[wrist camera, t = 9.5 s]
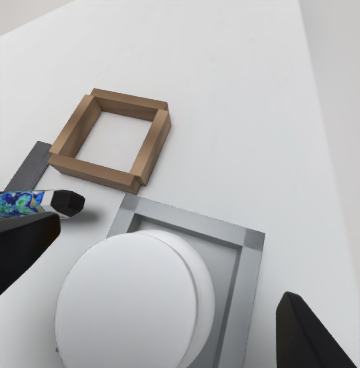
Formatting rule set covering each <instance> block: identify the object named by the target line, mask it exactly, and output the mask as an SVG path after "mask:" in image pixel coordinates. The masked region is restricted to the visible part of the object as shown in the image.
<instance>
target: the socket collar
mask: <svg viewBox="0 0 360 368" xmlns="http://www.w3.org/2000/svg"><path fill="white" fill-rule="evenodd" d="M101 111H107V112H111V113H116V114H121V115H125V116H130V117H135V118H139V119H144V120H149V121H153V123H152V125H151V127H150V129H149V131H148V134H147V136H146V138H145V140H144V142H143V145H142V147H141V149H140V151H139V153H138V156H137V158H136V160H135V162H134V164H133V166H132V169H131V171H130V173H126V172H122V171H118V170H115V169H111V168H107V167H103V166H100V165H96V164H92V163H89V162H85V161H81V160H78V159H74V158H75V156H76V154H77V153H78V151H79V149H80V147H81V146H82V144H83V142H84V141H85V139H86V137H87V135H88V134H89V132H90V130H91V129H92V127H93V125H94V123H95V122H96V120H97V118H98V117H99V115H100V113H101ZM170 127H171V122H170V116H169V110H168V104H167V102H163V101H158V100H153V99H147V98H142V97H137V96H132V95H127V94H121V93H116V92H111V91H106V90H101V89H95V88H94V89H93V91H92V92H91V94H90V95H85V96H84V97H83V99H82V100H81V102H80V103H79V105H78V106H77V108H76V110H75V111H74V113H73V114H72V116H71V117H70V119H69V120H68V122H67V123H66V125H65V127H64V128H63V130H62V131H61V133H60V134H59V136H58V137H57V139H56V141H55V142H54V144H53V145H52V147H51V148H50V150H49V151H48V152H49V153H51V154H52V155H51V157H50V158H49V160H48V162H47V163H49V164H50V165H51V166H52V167H54V168H55V169H56V170H58V171H59V172H60V173H63V174H67V175H70V176H74V177H77V178H81V179H84V180H88V181H91V182H94V183H98V184H101V185H105V186H108V187H112V188H115V189H119V190H122V191H126V192H129V193H132V194H136V195H137V193H138V190H139V188H140V185H144V186H146V185H147V182H148V180H149V177H150V175H151V173H152V170H153V168H154V165H155V163H156V161H157V158H158V156H159V153H160V151H161V149H162V146H163V144H164V141H165V139H166V136H167V134H168V132H169V129H170Z"/></svg>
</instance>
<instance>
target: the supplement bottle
mask: <svg viewBox="0 0 360 368" xmlns="http://www.w3.org/2000/svg"><path fill="white" fill-rule="evenodd" d="M214 313H215V292H214V286H213V282H212V278H211V275H210V272H209V270H208V268H207V266H206V264H205V262H204V260H203V259H202V257H201V256H200V254H199V253H198V252H197V251H196V249H195V248H194V247H193V246H191V245H190V244H189V243H188V242H187V241H185V240H184V239H182V238H181V237H179V236H177V235H175V234H172V233H169V232H166V231H162V230H154V229H152V230H141V231H136V232H133V233H125V234H119V235H115V236H112V237H109V238H107V239H105V240H103V241H101V242H99V243H97V244H96V245H94V246H93V247H91V248H90V249H89V250H88V251H87V252H86V253H84V254H83V255H82V256H81V257H80V259H79V260H78V261H77V262H76V263H75V265H74V266H73V267H72V269H71V270H70V272H69V274H68V275H67V277H66V279H65V281H64V283H63V286H62V288H61V291H60V294H59V297H58V301H57V306H56V313H55V337H56V342H57V347H58V350H59V353H60V356H61V359H62V361H63V363H64V365H65V367H66V368H187V367H188V366H189V365H190V364H191V363H192V362H193V361H194V359H195V358H196V357H197V356H198V354H199V353H200V351H201V350H202V348H203V347H204V345H205V343H206V341H207V339H208V337H209V334H210V331H211V328H212V324H213V319H214Z"/></svg>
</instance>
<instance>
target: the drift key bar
mask: <svg viewBox="0 0 360 368" xmlns="http://www.w3.org/2000/svg"><path fill="white" fill-rule="evenodd" d="M51 147H52V145H51V144H48V143H44V142H40V141H37V143H36V144H35V146H34V147H33V149H32V150H31V152H30V153H29V155H28V156H27V157H26V159H25V160H24V162H23V163H22V165H21V166H20V168H19V169H18V171H17V172H16V174H15V175H14V177H13V178H12V179H11V181H10V182H9V184H8V185H7V187H6V188H5V190H4V191H32V190H33V189H34V187H35V185H36V184H37V182H38V181H39V179H40V177H41V176H42V174H43V173H44V171H45V169H46V168H47V166H48V165H49V163H47V162H48V160H49V158H50V157H51V155H52V154H51V153H49V152H48V151H49V150H50V148H51ZM4 191H3V192H4ZM6 219H11V218H0V221H1V220H6Z"/></svg>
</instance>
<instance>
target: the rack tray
mask: <svg viewBox="0 0 360 368" xmlns="http://www.w3.org/2000/svg"><path fill="white" fill-rule="evenodd" d="M152 229H154V230H162V231H166V232H169V233H172V234H175V235H177V236H179V237H181V238H182V239H184V240H185V241H187V242H188V243H189V244H190V245H191V246H193V247H194V248H195V249H196V251H197V252H198V253H199V254H200V256H201V257H202V259H203V260H204V262H205V264H206V266H207V268H208V270H209V272H210V275H211V278H212V282H213V286H214V292H215V313H214V319H213V324H212V328H211V331H210V334H209V337H208V339H207V341H206V343H205V345H204V347H203V348H202V350H201V351H200V353H199V354H198V356H197V357H196V358H195V359H194V361H193V362H192V363H191V364H190V365H189V366H188V367H187V368H243V363H244V357H245V351H246V345H247V339H248V333H249V327H250V321H251V315H252V309H253V304H254V298H255V292H256V286H257V280H258V274H259V268H260V262H261V256H262V250H263V244H264V238H265V233H262V232H259V231H255V230H252V229H248V228H245V227H242V226H238V225H235V224H231V223H228V222H224V221H221V220H218V219H214V218H211V217H207V216H204V215H200V214H197V213H193V212H190V211H187V210H183V209H180V208H176V207H173V206H169V205H166V204H163V203H159V202H156V201H152V200H149V199H145V198H142V197H138V196H135V195H132V194H128V193H126V194H125V197H124V199H123V201H122V203H121V205H120V208H119V210H118V212H117V214H116V217H115V219H114V221H113V223H112V226H111V228H110V230H109V232H108V235H107V237H106V239H107V238H109V237H112V236H115V235H119V234H125V233H133V232H136V231H141V230H152ZM56 352H58V353H59V350H58V347H57V349H56Z"/></svg>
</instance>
